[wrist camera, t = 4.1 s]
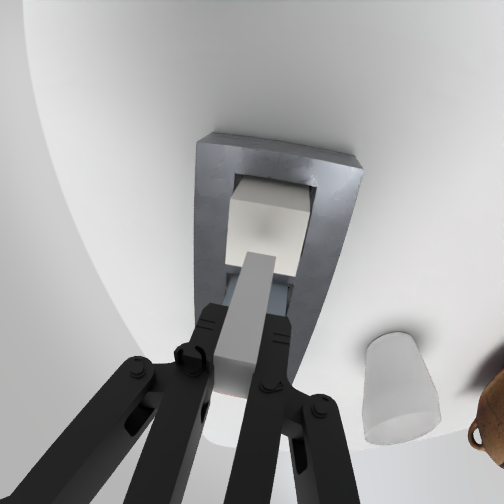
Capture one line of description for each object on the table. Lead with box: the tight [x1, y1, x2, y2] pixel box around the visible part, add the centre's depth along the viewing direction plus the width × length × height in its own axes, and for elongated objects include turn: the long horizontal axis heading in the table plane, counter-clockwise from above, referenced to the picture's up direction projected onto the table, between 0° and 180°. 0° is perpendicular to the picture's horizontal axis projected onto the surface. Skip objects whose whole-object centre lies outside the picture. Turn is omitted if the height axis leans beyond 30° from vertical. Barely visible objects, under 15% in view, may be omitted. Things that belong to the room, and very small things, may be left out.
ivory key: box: [225, 175, 310, 277], centre depth 22 cm, size 5×5×5 cm
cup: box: [362, 332, 441, 445], centre depth 29 cm, size 9×9×12 cm
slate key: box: [223, 274, 288, 316], centre depth 26 cm, size 5×5×5 cm
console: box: [194, 133, 364, 385], centre depth 29 cm, size 28×12×4 cm, turn 174°
